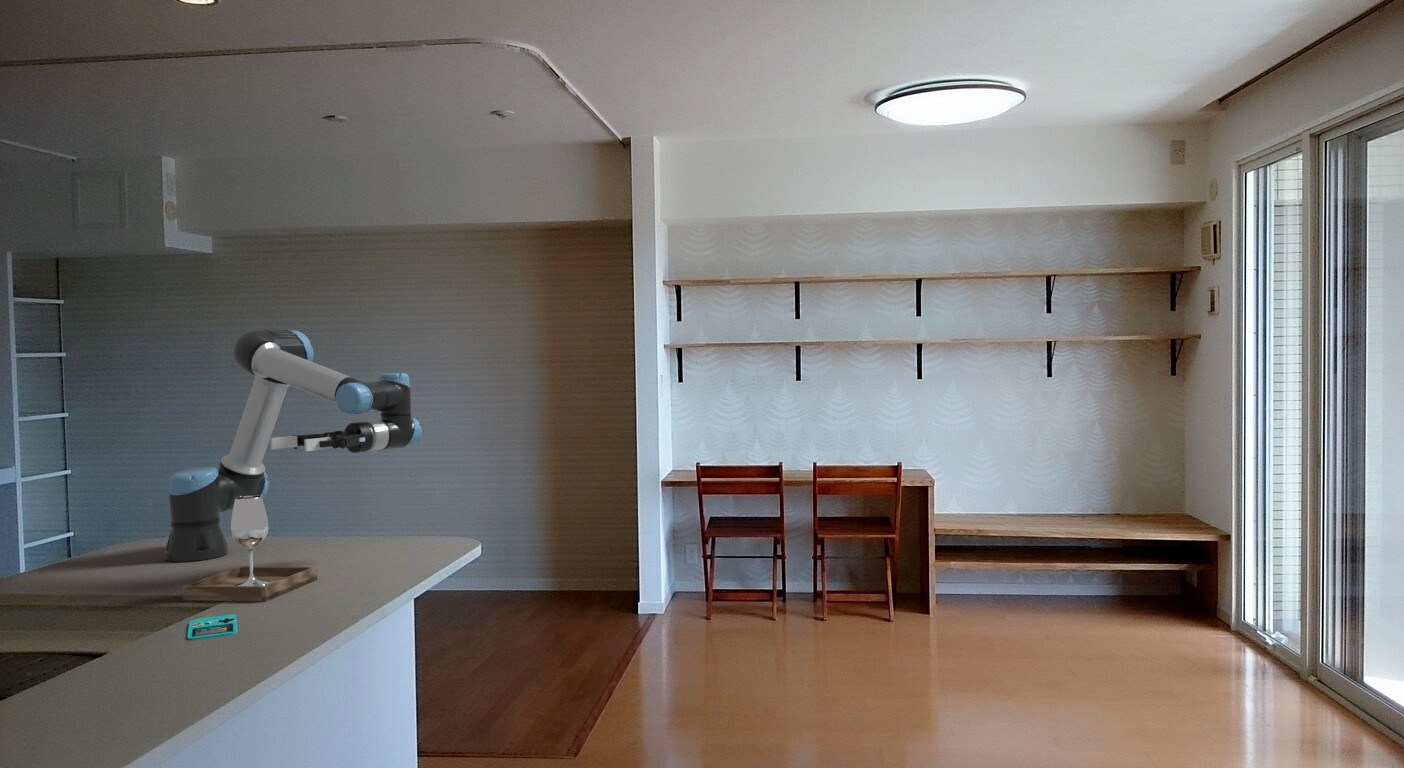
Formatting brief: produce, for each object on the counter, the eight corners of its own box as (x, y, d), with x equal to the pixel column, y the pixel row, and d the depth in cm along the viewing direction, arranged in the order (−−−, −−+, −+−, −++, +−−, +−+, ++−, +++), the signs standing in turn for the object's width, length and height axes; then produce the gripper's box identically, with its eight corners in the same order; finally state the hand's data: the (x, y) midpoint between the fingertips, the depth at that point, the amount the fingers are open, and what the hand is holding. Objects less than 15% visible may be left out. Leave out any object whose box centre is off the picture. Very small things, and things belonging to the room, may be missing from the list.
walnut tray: (240, 578, 233) (239, 566, 233) (317, 579, 230) (316, 567, 230) (182, 600, 214) (181, 586, 213) (265, 601, 210) (265, 587, 210)
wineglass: (256, 589, 217) (252, 499, 217) (225, 588, 219) (221, 499, 218) (278, 581, 225) (274, 494, 224) (248, 580, 226) (244, 494, 226)
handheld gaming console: (236, 612, 199) (237, 630, 185) (236, 617, 199) (237, 636, 185) (189, 618, 195) (187, 637, 182) (189, 623, 195) (187, 643, 182)
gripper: (397, 453, 239) (321, 462, 222) (335, 449, 254) (258, 458, 236) (396, 422, 239) (319, 429, 222) (334, 421, 253) (257, 427, 236)
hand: (288, 444), depth 229 cm, fingers open, 13 cm apart
